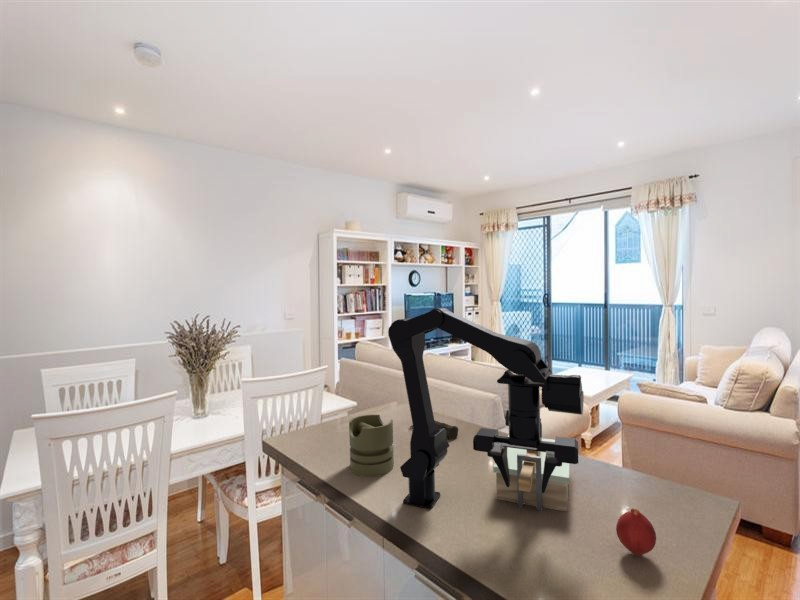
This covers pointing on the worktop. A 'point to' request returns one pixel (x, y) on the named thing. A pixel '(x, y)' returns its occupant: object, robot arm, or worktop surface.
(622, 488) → the worktop surface
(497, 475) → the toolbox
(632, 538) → the onion
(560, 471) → the lid
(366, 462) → the piston
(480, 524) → the worktop surface
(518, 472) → the bracket
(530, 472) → the tan rectangular bar
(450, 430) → the hand tool
